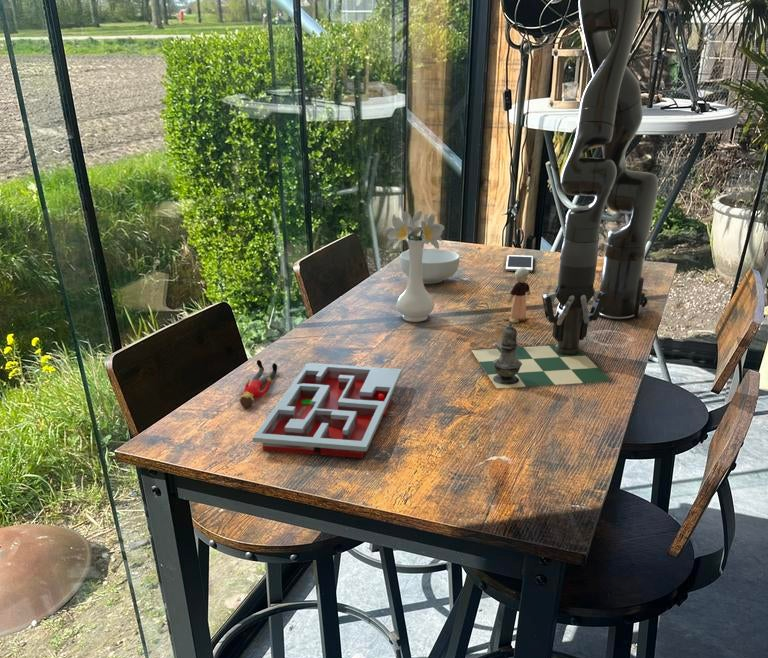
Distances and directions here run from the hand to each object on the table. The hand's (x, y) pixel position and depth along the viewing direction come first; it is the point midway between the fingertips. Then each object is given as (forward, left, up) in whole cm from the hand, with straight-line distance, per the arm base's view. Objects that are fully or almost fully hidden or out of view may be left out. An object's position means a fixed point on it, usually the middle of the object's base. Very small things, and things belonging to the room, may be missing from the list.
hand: (569, 339), depth 176 cm
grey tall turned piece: (+18, +14, -3) cm, 23 cm away
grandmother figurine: (+5, -23, -3) cm, 24 cm away
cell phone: (-10, -73, -3) cm, 74 cm away
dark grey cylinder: (0, 0, -3) cm, 3 cm away
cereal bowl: (+20, -61, -3) cm, 64 cm away
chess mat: (+9, +7, -3) cm, 12 cm away
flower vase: (+30, -29, -3) cm, 41 cm away
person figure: (+69, +12, -3) cm, 70 cm away
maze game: (+54, +26, -3) cm, 60 cm away
